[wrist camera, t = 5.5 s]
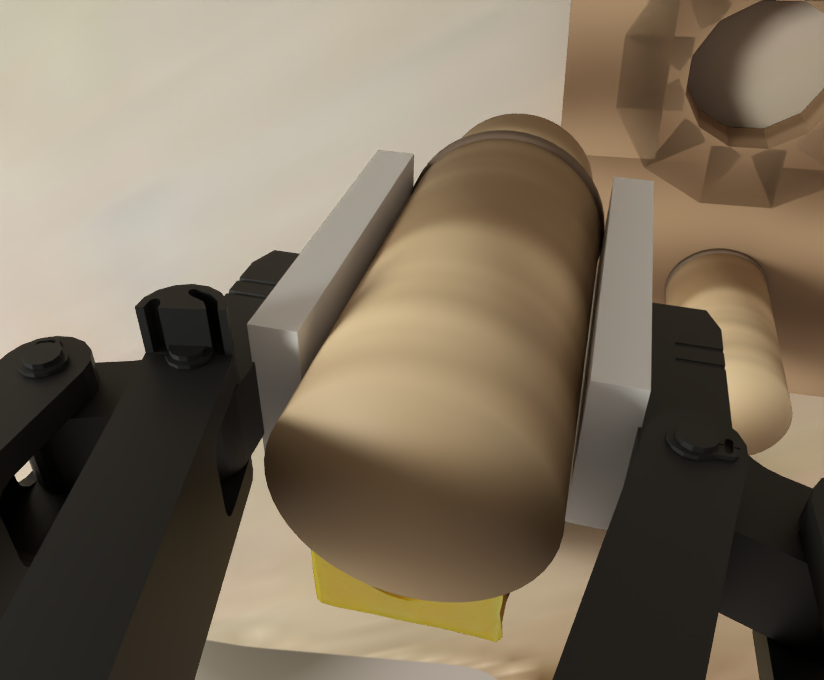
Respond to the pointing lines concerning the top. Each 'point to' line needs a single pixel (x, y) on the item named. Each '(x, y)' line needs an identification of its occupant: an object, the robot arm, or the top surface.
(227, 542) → the robot arm
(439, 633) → the top surface
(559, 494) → the oak leg
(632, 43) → the seat board
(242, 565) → the top surface
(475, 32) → the top surface
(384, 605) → the black and yellow cube
